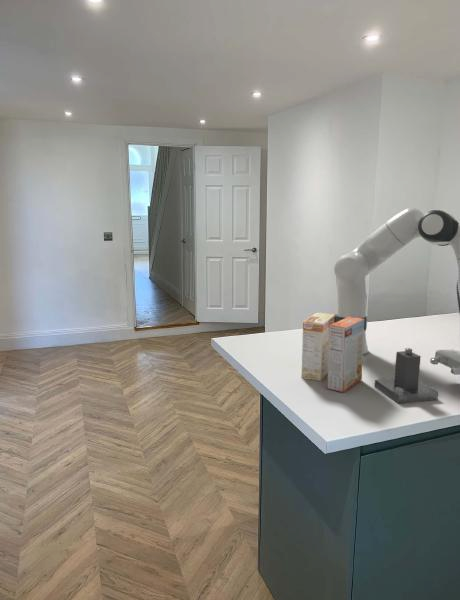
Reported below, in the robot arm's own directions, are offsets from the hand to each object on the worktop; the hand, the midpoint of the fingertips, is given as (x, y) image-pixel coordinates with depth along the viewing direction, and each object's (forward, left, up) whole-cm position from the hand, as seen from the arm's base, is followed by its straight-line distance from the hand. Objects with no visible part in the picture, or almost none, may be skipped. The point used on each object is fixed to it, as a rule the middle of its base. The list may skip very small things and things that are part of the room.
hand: (441, 366), depth 141 cm
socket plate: (-11, -5, -8) cm, 14 cm away
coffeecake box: (-38, +7, -8) cm, 39 cm away
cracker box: (-29, -2, -8) cm, 30 cm away
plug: (-11, -5, -7) cm, 14 cm away
